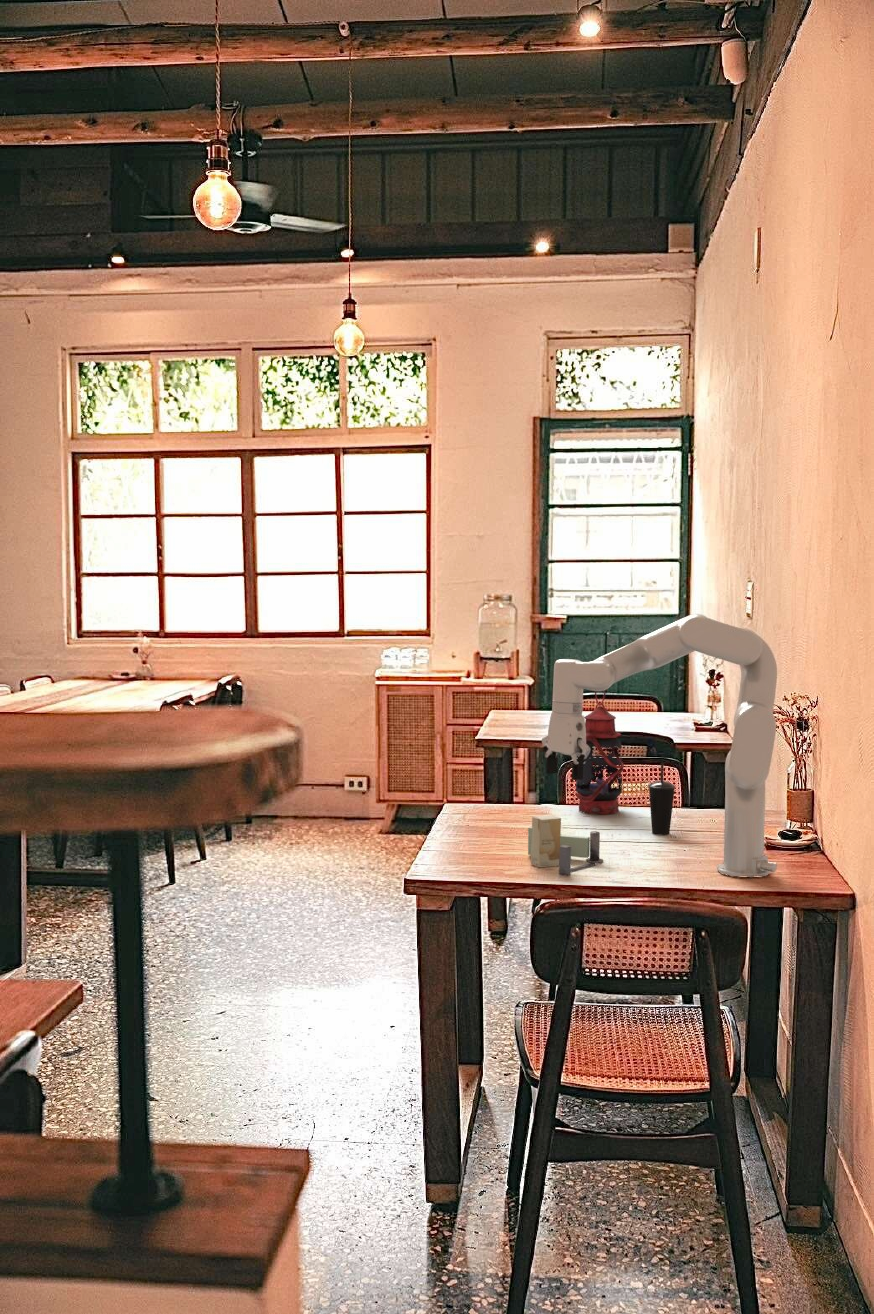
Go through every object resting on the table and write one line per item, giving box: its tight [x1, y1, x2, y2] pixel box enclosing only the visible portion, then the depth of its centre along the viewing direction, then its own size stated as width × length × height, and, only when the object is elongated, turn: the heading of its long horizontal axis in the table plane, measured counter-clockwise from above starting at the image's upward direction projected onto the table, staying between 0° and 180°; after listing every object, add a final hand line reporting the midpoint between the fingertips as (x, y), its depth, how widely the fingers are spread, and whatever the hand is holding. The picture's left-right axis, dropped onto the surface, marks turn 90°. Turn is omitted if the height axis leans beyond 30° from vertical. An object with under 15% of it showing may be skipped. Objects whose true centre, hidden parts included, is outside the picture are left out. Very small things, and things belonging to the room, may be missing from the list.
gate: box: [527, 825, 590, 859], centre depth 312 cm, size 16×2×7 cm, turn 69°
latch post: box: [558, 845, 596, 877], centre depth 299 cm, size 3×14×7 cm, turn 134°
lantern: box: [575, 689, 625, 816], centre depth 372 cm, size 16×15×45 cm
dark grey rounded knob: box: [585, 830, 604, 864], centre depth 308 cm, size 4×4×8 cm
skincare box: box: [530, 814, 562, 868], centre depth 304 cm, size 6×4×12 cm
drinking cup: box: [647, 762, 677, 836], centre depth 342 cm, size 8×8×20 cm
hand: (564, 776), depth 305 cm, fingers open, 9 cm apart
